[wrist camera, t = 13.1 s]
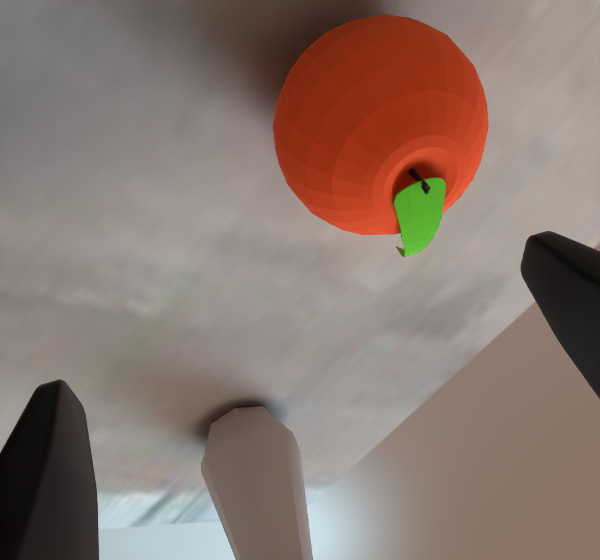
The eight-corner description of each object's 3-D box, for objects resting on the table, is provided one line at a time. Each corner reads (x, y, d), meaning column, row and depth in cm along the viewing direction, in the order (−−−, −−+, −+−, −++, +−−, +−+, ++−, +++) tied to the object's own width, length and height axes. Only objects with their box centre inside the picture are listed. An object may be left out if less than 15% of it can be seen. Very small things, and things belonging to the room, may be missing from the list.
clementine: (429, 158, 24) (521, 261, 19) (280, 209, 24) (334, 329, 19) (425, -41, 18) (555, 32, 13) (229, 21, 18) (287, 121, 13)
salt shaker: (266, 383, 32) (342, 633, 22) (301, 424, 36) (377, 649, 27) (177, 427, 32) (217, 690, 23) (221, 462, 36) (270, 698, 27)
